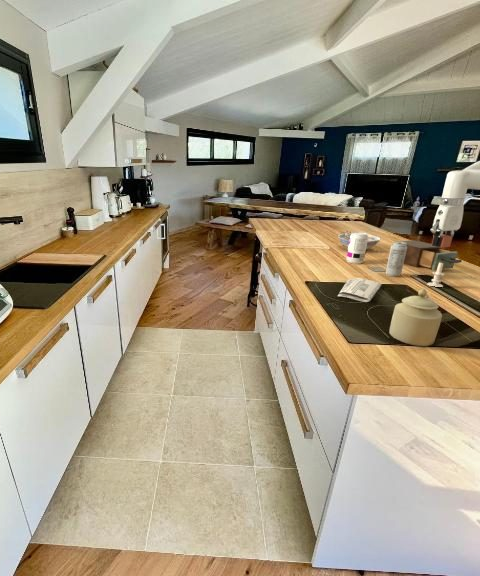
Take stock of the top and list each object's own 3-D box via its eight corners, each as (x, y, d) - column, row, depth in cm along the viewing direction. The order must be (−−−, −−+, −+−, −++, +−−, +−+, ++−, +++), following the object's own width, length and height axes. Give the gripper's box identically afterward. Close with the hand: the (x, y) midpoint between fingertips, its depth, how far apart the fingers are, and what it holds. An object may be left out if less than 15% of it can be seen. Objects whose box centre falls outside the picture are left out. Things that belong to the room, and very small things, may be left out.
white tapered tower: (434, 283, 132) (440, 259, 128) (446, 287, 127) (453, 262, 123) (424, 284, 131) (430, 260, 127) (435, 288, 126) (442, 263, 122)
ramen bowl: (377, 256, 173) (379, 241, 170) (332, 251, 184) (334, 237, 182) (379, 247, 193) (381, 233, 190) (339, 243, 204) (341, 230, 201)
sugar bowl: (380, 320, 101) (390, 276, 95) (420, 324, 98) (432, 279, 92) (395, 343, 87) (408, 293, 82) (441, 349, 84) (457, 297, 79)
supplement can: (343, 262, 163) (347, 233, 158) (349, 259, 168) (354, 231, 163) (359, 265, 158) (364, 235, 152) (365, 262, 163) (371, 233, 157)
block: (439, 244, 138) (442, 234, 137) (449, 246, 134) (452, 236, 133) (431, 245, 137) (433, 235, 136) (441, 247, 133) (444, 237, 132)
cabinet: (436, 265, 156) (441, 246, 153) (415, 267, 153) (420, 248, 150) (410, 257, 169) (414, 240, 166) (391, 259, 166) (395, 241, 163)
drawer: (463, 271, 144) (468, 254, 141) (443, 273, 141) (448, 256, 138) (426, 260, 160) (430, 245, 157) (408, 262, 157) (412, 247, 155)
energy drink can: (402, 275, 142) (409, 242, 137) (398, 278, 138) (406, 244, 133) (387, 272, 146) (394, 240, 141) (383, 275, 142) (390, 242, 137)
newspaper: (349, 280, 137) (350, 275, 136) (380, 288, 130) (382, 283, 129) (333, 295, 120) (335, 289, 119) (367, 306, 113) (369, 299, 112)
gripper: (444, 204, 124) (433, 249, 130) (477, 202, 128) (464, 245, 134) (427, 202, 131) (417, 245, 137) (458, 200, 135) (447, 242, 141)
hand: (440, 245), depth 136 cm, fingers closed on block, 4 cm apart
